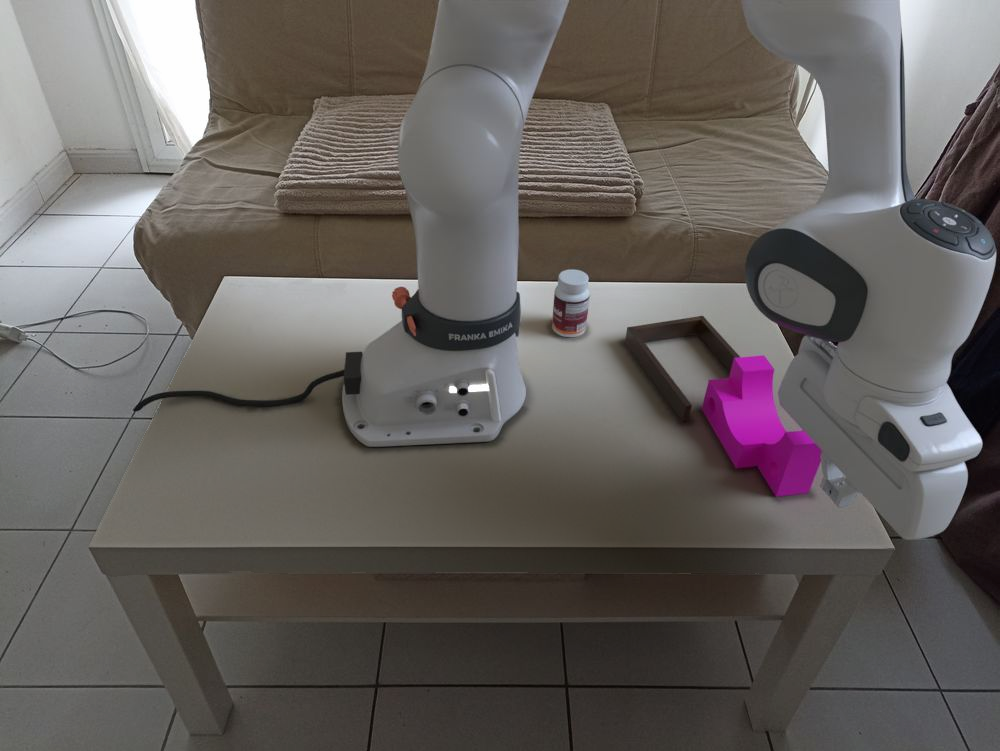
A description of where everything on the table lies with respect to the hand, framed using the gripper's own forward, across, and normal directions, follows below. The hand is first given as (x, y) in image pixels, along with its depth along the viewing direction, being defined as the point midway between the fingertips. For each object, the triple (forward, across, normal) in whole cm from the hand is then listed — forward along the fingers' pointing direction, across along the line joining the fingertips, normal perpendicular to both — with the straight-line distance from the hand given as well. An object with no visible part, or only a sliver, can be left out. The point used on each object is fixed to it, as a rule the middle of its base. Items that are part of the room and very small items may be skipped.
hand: (835, 496), depth 74 cm
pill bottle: (+5, -41, -12) cm, 43 cm away
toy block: (+5, -13, 0) cm, 14 cm away
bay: (+5, -27, 0) cm, 28 cm away
